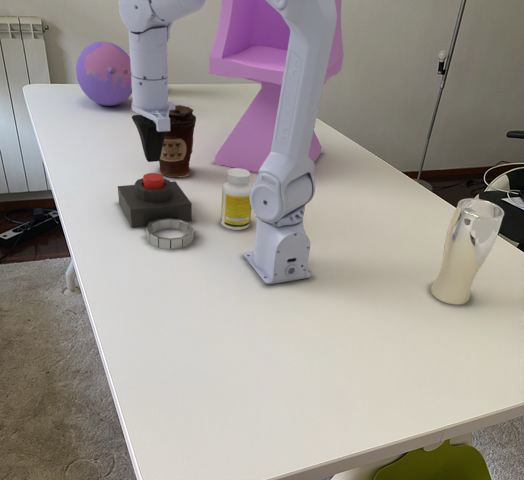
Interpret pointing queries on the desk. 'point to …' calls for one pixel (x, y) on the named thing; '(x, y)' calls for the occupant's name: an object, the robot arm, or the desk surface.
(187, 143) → the coffee cup
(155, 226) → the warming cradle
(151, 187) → the power button
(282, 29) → the chair
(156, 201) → the power button base
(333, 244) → the desk surface
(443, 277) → the beer glass
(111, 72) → the decorative ball
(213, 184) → the desk surface
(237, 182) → the supplement bottle
